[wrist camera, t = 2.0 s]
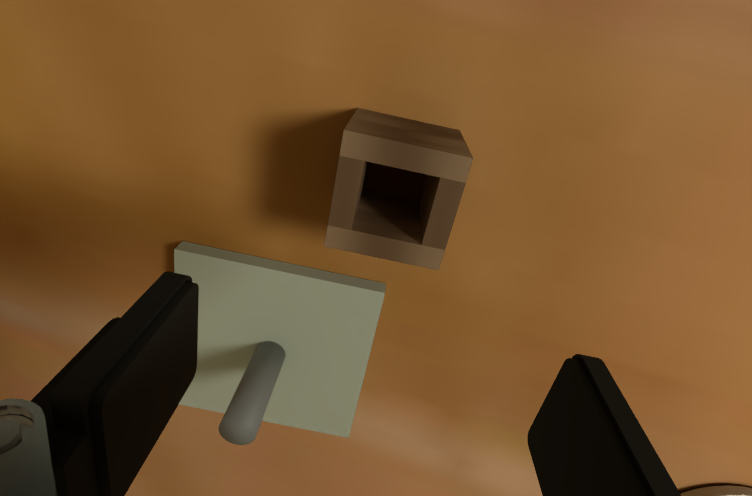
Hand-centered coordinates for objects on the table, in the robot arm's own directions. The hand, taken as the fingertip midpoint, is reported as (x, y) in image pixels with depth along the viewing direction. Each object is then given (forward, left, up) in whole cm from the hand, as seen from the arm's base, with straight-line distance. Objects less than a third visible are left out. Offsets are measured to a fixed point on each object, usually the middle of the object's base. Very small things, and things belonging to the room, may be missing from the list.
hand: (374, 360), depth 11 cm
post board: (+6, +15, -17) cm, 24 cm away
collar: (0, 0, -17) cm, 17 cm away
